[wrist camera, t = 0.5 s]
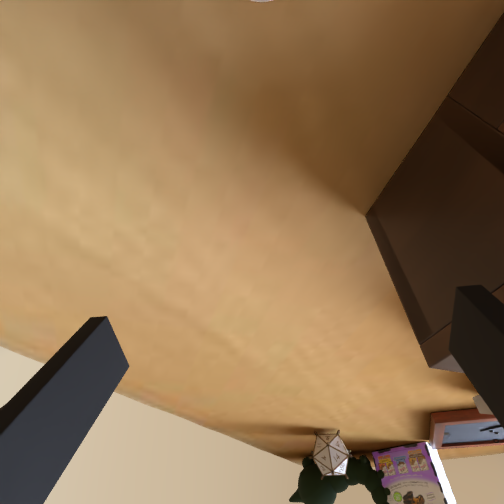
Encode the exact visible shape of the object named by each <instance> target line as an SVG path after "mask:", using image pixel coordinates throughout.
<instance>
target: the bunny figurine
mask: <svg viewBox="0 0 504 504" xmlns="http://www.w3.org/2000/svg"><path fill="white" fill-rule="evenodd" d="M473 400H474V402H475V404H476V407H477V409H478V411H479V413H481V414H491V415H493V413H492V412H491V410H490V409H489V407H488V406H487V404H486V403H485V402H484V400H483V399H482V397H481V396H480V394H479V395H477V396H475V397H473Z"/></svg>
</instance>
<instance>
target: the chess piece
mask: <svg viewBox="0 0 504 504" xmlns="http://www.w3.org/2000/svg"><path fill="white" fill-rule="evenodd" d="M250 1H254V2H268V1H272V0H250Z"/></svg>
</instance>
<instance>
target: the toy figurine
mask: <svg viewBox="0 0 504 504" xmlns="http://www.w3.org/2000/svg"><path fill="white" fill-rule="evenodd" d="M348 454H349V453H348ZM302 465H303V467H304V469H303V470H302V472H301V473H300V476H299V480H298V489H297V491H296V492H295V493H294V494H293V495H292V496H291V498H290V499H289V501H290V502H303V503H305V504H333V503H334V501H335V498H336V494H337V493H340V492H343V491H345V490H346V489H347V487H348V485H356V484H358V483H360V484H362V485H365V487H366V488H367V490H369V491H370V492H371V495H372V498H373V500H374V502H375V503H376V504H389V503H388V502H387V499H388V498H387V496H388V495H390V493H391V492H390V489H388V488H384V487H383V486H382V481H381V479H383V478H384V475H385V474H384V472H383V471H382V470H378V472H376V471H375V470H373V469H372V467H371V464H370V461H369V460H368V458H367V457H366V456H365V455H361V456H360V459H356V458H355V457H353V456H352V457H351V458H350V457H349V458H348V464H347V469H346V475H347V476H348V479H347V478H346V477H345V475H333V476H324V478H323V479H322V480H321V476H322V473H321V471H320V470H319V468H318V466H317V464H315V462H314V460H313V459H310V458H309V457H305V458H304V459H303V461H302Z"/></svg>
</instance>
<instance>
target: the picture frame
mask: <svg viewBox="0 0 504 504" xmlns="http://www.w3.org/2000/svg"><path fill="white" fill-rule="evenodd" d="M429 442H430V445H431V447H432V450H435V449H449V448H464V447H478V446H493V445H504V429H503V428H502V426H501V425H500V423H499V422H498V420H497V419H496V417H495V416H494V415H491V414H481V413H479V411H478V409H466V410H456V411H446V412H436V413H431V422H430V435H429Z"/></svg>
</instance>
